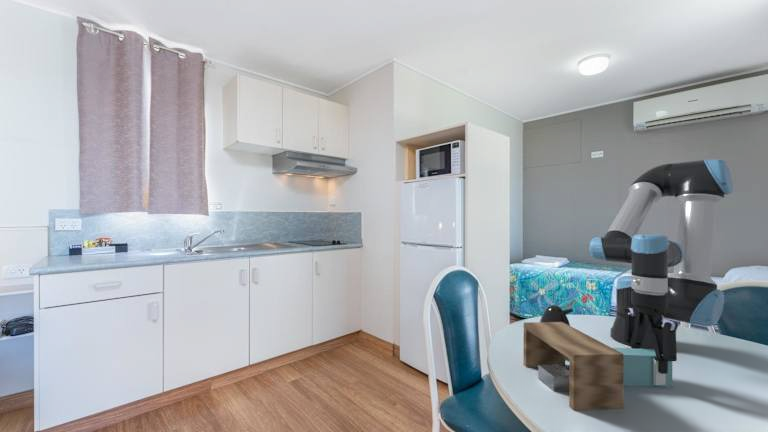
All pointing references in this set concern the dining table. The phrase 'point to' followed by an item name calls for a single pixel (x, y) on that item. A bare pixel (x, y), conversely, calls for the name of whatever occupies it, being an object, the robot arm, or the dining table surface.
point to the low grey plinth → (554, 376)
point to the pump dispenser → (555, 314)
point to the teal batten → (641, 367)
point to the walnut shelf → (577, 363)
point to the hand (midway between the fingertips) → (648, 377)
